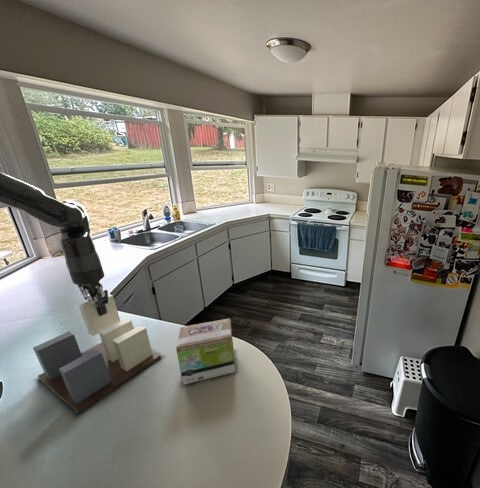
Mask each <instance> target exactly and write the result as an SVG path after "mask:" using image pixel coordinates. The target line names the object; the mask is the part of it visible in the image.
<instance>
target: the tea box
mask: <svg viewBox="0 0 480 488" xmlns="http://www.w3.org/2000/svg"><path fill="white" fill-rule="evenodd" d="M175 349H176V356H177V360H178V365H179V371H180V375H181V381H182V384H183V385H184V386H185V385H189V384H192V383H193V384H194V383H196V382H201V381H205V380H209V379H213V378H217V377H221V376H225V375H229V374H234V373H235V372H236V369H235V351H234V340H233V330H232V320H231V318H223V319H219V320H213V321H208V322H207V321H206V322H202V323H197V324H190V325H184V326H180V329H179V334H178V338H177V344H176V348H175Z"/></svg>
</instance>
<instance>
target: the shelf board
mask: <svg viewBox="0 0 480 488" xmlns="http://www.w3.org/2000/svg"><path fill="white" fill-rule="evenodd" d="M95 349H97V350H98V351H100V352H101V353H102V355H103V358H104V361H105V364H106V367H107V370H108V373H109V376H110V378H111V382H110V383H109V384H107V385H106V386H104V387H102V388H101V389H99V390H98V391H96V392H95V393H93V394H92V395H90V396H89V397H87V398H86V399H84V400H83V401H81V402H80V403H78V404H77V403H76V402H75V401H73V400H72V398H71V396H70V393H69V391H68V389H67V387H66V384H65V382H64V380H63V377H62V375H59V376H58V377H56V378H54V379H52V380H50V379H49V378H47V377H46V375H45V373H44V372H43V373H41V374H38V375H37V377H38V379H39V380H40V381H41V382H42V383H44V385H46V386H47V387H48V388H49V389H50V390H51V391H52V392H54V394H55V395H56V396H58V397H59V398H60V399H61V400H62V401H63V402H64V403H65V404H66V405H68V407H70V408H71V409H72V410H73V411H74V412H75V413H76V414H77V415H80V414H81V413H83V412H84V411H86V410H87V409H89V408H90V407H92V406H93V405H95V404H96V403H97V402H99V401H100V400H102V399H103V398H105V397H107V396H108V395H109V394H111V393H113V392H114V391H115V390H116V389H118V388H119V387H121V386H122V385H124V384H126V382H128V381H129V380H131V379H133V378H134V377H135V376H137V375H139V374H140V373H141V372H143V371H144V370H146V369H147V368H149V367H150V366H152V365H154V363H156V362H157V361H159V360H160V359H162V357H161V355H160V354H159V353H158V352H155V351H154V350H152V353H153V355H151V356H150V357H148V358H147V359H145V360H144V361H142V362H141V363H139V364H138V365H136V366H135V367H133V368H132V369H130V370H128V371H127V372H126V371H125V370H123V369H122V368H121V366H120V363H119V359H117V360H115V361H114V362H112V361H110V360H109V359H107V356H106V353H105V350H104V347H103V344H102V342H100V343H98V344H95V345H94V346H92V347H90V348H88V349H86V350H85V351H81V354H82V356H84V355H86V354H88V353H90V352H91V351H93V350H95Z"/></svg>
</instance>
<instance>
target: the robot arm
mask: <svg viewBox="0 0 480 488" xmlns="http://www.w3.org/2000/svg"><path fill="white" fill-rule="evenodd" d="M0 204H3V205H5V206H8V207H9V208H10V207H11V208H13V209H15V210H18V211H22V212H24V213H26V214H28V215H30V216H31V217H33V218H35V219H37V220H39V221H41V222H43V223H45V224H47V225H49V226H51V227H55V228H57V229H59V232H60V239H59V243H60V244H59V245H60V247H61V250H62V253H63V255H64V260H65V265H66V268H67V271H68V273H69V277H70V279H71V281H72V284H74V285H75V286H76V285H77V287H78V289H79V290H80V293H81V295H82V296H83V298H84V300H85V301H87V302H88V301H90V300H91V301H93V302H94V304H95V306H96V309H97V312H98V315H99V316H102V315H104V314H106V313H107V309H106V306H105V304H107V303H108V294H109V291H108V289H105V290H104V287H103V284H102V283H100V281H101V280H102V279H103V278H105V272H104V269H103V265H102V263H101V259H100V255H99V254H98V252H97V250H96V246H95V243H94V239H93V237H92V235H91V228H90V227H91V226H90V220H89V216H88V213H87V210H86V209H85V207H84V206H83V205H82V204H80V203H78V202H76V201H73V200H64V201H60V200H58V199H55V198H53V197H51V196H48V195H46V194H45V192H44V191H43V190H42V189H40V188H38V187H35V186H34V185H31V184H30V183H27V182H24V181H22V180H20V179H17V178H15V177H12V176H10V175H8V174H6V173H3V172H1V171H0Z"/></svg>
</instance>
